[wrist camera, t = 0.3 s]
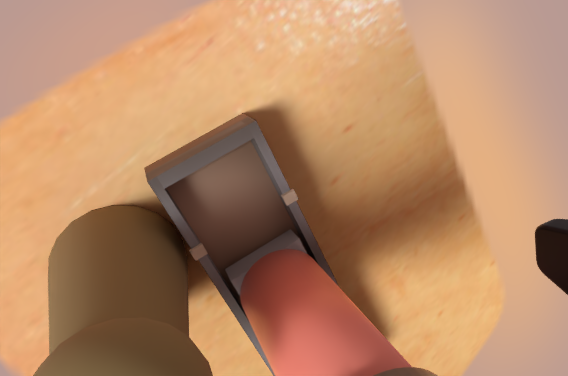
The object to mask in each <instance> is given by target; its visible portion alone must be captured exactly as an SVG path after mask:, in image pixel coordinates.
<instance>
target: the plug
mask: <svg viewBox="0 0 568 376" xmlns="http://www.w3.org/2000/svg"><path fill="white" fill-rule="evenodd" d="M225 270H226V272H227V274H228V277H229V279H230V281H231V282H232V284H233V286H234V287H235V289H236V290H237V292H238V294H239V295H240V299H241V304H242V307H243V310H244V312H245V314H246V316H247V318H248V320H249V322H250V324H251V326H252V328H253V331H254V333H255V335H256V337H257V339H258V341H259V343H260V345H261V347H262V349H263V352H264V354H265V356H266V358H267V360H268V362H269V364H270V366H271V368H272V370H273V373H274V375H275V376H437V375H436V374H434V373H432V372H430V371H428V370H425V369H421V368H415V367H412V366H411V365H410V364H409V363H408V362H407V361H406V360H405V359H404V358H403V357H402V356H401V354H400V353H399V352H398V351H397V350H396V349H395V348H394V347H393V346H392V345H391V343H390V342H389V341H388V340H387V339H386V338H385V337H384V336H383V335H382V334H381V333H380V331H379V330H378V329H377V328H376V327H375V326H374V325H373V324H372V323H371V322H370V321H369V319H368V318H367V317H366V316H365V315H364V314H363V313H362V312H361V311H360V310H359V308H358V307H357V306H356V305H355V304H354V303H353V302H352V301H351V300H350V299H349V298H348V296H347V295H346V294H345V293H344V292H343V291H342V290H341V289H340V288H339V287H338V285H337V284H336V283H335V282H334V281H333V280H332V279H331V278H330V277H329V276H328V275H327V273H326V272H325V271H324V270H323V269H322V268H321V267H320V266H319V265H318V264H317V263H316V261H315V260H314V259H313V258H312V257H311V256H309V255H308V254H307V252H306V250H305V249H304V247H303V245H302V243H301V241H300V239H299V238H298V237H297V236H296V235H295V233H294V232H293V231H292V230H291V229H290V230H288V231H287V232H285V233H283V234H282V235H280V236H278V237H277V238H275V239H273V240H272V241H270V242H269V243H267V244H265V245H264V246H262V247H260V248H259V249H257V250H255V251H254V252H252V253H251V254H249V255H247V256H246V257H244V258H242V259H241V260H239V261H237V262H236V263H234V264H233V265H231V266H229V267H228V268H226V269H225Z"/></svg>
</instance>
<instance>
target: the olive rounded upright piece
mask: <svg viewBox="0 0 568 376" xmlns="http://www.w3.org/2000/svg"><path fill="white" fill-rule="evenodd" d="M48 296H49V354H50V355H49V356H48V357H47V359H46V360H45V361H44V362H43V363H42V364H41V365H40V367H39V368H38V370H37V371H36V372H35V374H34V375H33V376H213V375H212V372H211V368H210V365H209V362H208V361H207V360H206V358H205V357H204V356H203V354H202V353H201V352H200V350H199V349H198V348H197V346H196V345H195V344H194V343H193V341H192V340H191V339H190V338H189V315H188V262H187V254H186V250H185V246H184V242H183V239H182V238H181V236H180V235H179V233H178V232H177V231H176V229H175V228H174V226H173V225H172V224H171V223H170V222H168V221H167V220H165V219H164V218H163V217H161V216H160V215H159V214H157V213H155V212H153V211H150V210H147V209H144V208H141V207H138V206H124V205H112V206H108V207H104V208H100V209H96V210H92V211H90V212H88V213H86V214H85V215H83V216H81V217H80V218H78V219H76V220H74V221H73V222H71V223H70V224H69V226H68V227H67V228H66V229H65V230H64V231H63V232H62V233H61V234H60V235H59V237H58V238H57V239H56V242H55V244H54V246H53V249H52V251H51V253H50V256H49V266H48Z"/></svg>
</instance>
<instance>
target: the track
mask: <svg viewBox="0 0 568 376" xmlns="http://www.w3.org/2000/svg"><path fill="white" fill-rule="evenodd" d="M145 173H146V177H147V182H148V183H149V185H150V186H151V188H152V189H153V191H154V192H155V194H156V195H157V197H158V199H159V200H160V202H161V203H162V205H163V206H164V208H165V209H166V211H167V212H168V214H169V215H170V217H171V219H172V220H173V222H174V223H175V225H176V226H177V228H178V229H179V231H180V232H181V234H182V235H183V237H184V239H185V240H186V242H187V243H188V245H189V246H190V248H191V249H190V250H189V251H190V253H191V255H192V256H193V258H194V259H195V261H196V260H199V262H200V263H201V265H202V266H203V268H204V269H205V271H206V272H207V274H208V275H209V277H210V279H211V280H212V282H213V283H214V285H215V286H216V288H217V289H218V291H219V292H220V294H221V295H222V297H223V299H224V300H225V302H226V303H227V305H228V306H229V308H230V309H231V311H232V312H233V314H234V315H235V317H236V319H237V320H238V322H239V323H240V325H241V326H242V328H243V329H244V331H245V332H246V334H247V335H248V337H249V339H250V340H251V342H252V343H253V345H254V346H255V348H256V349H257V351H258V352H259V354H260V355H261V357H262V359H263V360H264V362H265V363H266V365H267V366H268V368H269V369H270V371H271V372H272V374H273V375H274V373H273V370H272V368H271V366H270V364H269V362H268V360H267V358H266V356H265V354H264V352H263V349H262V347H261V345H260V343H259V341H258V339H257V337H256V335H255V333H254V331H253V328H252V326H251V324H250V322H249V320H248V318H247V316H246V314H245V312H244V310H243V307H242V304H241V299H240V295H239V294H238V292H237V290H236V289H235V287H234V286H233V284H232V282H231V281H230V279H229V277H228V274H227V272H226V270H225V269H226V268H228V267H229V266H231V265H233V264H234V263H236V262H237V261H239V260H241V259H242V258H244V257H246V256H247V255H249V254H251V253H252V252H254V251H255V250H257V249H259V248H260V247H262V246H264V245H265V244H267V243H269V242H270V241H272V240H273V239H275V238H277V237H278V236H280V235H282V234H283V233H285V232H287V231H288V230H290V229H291V230H292V231H293V232H294V233H295V235H296V236H297V237H298V238H299V239H300V241H301V243H302V245H303V247H304V249H305V250H306V252H307V254H308V255H309V256H311V257H312V258H313V259H314V260H315V261H316V263H317V264H318V265H319V266H320V267H321V268H322V269H323V270H324V271H325V272H326V273H327V275H328V276H329V277H330V278H331V279H332V280H333V281H334V282H335V283H336V284H337V282H336V280H335V278H334V276H333V274H332V272H331V270H330V268H329V266H328V264H327V262H326V260H325V258H324V256H323V254H322V252H321V250H320V248H319V246H318V244H317V242H316V240H315V238H314V236H313V234H312V232H311V230H310V228H309V226H308V224H307V222H306V220H305V218H304V216H303V214H302V212H301V210H300V208H299V206H298V204H297V202H296V200H298V197H297V195H296V193H295V191H294V189H291V190H290V188H289V186H288V184H287V182H286V180H285V178H284V176H283V174H282V172H281V170H280V168H279V166H278V164H277V162H276V160H275V158H274V156H273V154H272V152H271V150H270V148H269V146H268V144H267V142H266V140H265V138H264V136H263V134H262V132H261V130H260V128H259V126H258V124H257V122H256V120H254V119H252V118H250V117H249V116H247V115H245V114H243V113H242V114H241V115H239V116H237V117H235V118H233V119H232V120H230V121H228V122H226V123H224V124H223V125H221V126H219V127H217V128H215V129H214V130H212V131H210V132H208V133H206V134H205V135H203V136H201V137H199V138H197V139H196V140H194V141H192V142H190V143H188V144H187V145H185V146H183V147H181V148H180V149H178V150H176V151H174V152H172V153H171V154H169V155H167V156H165V157H163V158H162V159H160V160H158V161H156V162H154V163H153V164H151V165H149V166H147V167H145ZM337 285H338V284H337ZM338 287H339V286H338ZM274 376H275V375H274Z"/></svg>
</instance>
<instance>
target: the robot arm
mask: <svg viewBox="0 0 568 376" xmlns="http://www.w3.org/2000/svg"><path fill="white" fill-rule="evenodd" d="M535 244H536V261H537V265H538V267H539V269H540V270H541V271H542V272H543V273H544V274H545V275H546V276H547V277H548V278H549V279H550V280H551V281H552V282H554V283H555V284H556V285H557V286H558V287H559V288H561V289H562V290H563V291H564V292H565V293H566V294H567V295H568V220H567V219H566V220H565V219H554V220H551V221H548V222H546V223H544V224H542V225H540V226H538V227H537V229H536V231H535Z"/></svg>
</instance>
